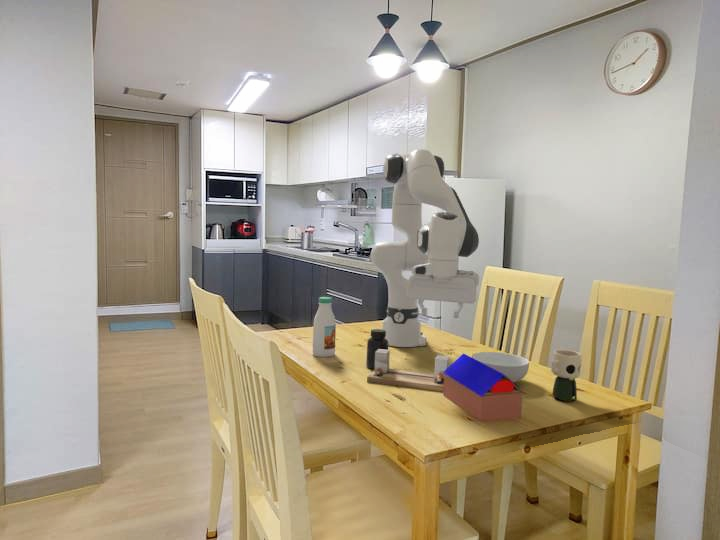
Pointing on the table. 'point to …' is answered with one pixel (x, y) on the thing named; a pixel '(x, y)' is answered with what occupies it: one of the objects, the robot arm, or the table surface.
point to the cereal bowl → (504, 364)
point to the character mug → (566, 373)
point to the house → (482, 390)
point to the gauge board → (401, 375)
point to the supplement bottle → (375, 346)
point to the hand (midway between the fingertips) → (440, 316)
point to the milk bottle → (324, 329)
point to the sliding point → (440, 367)
